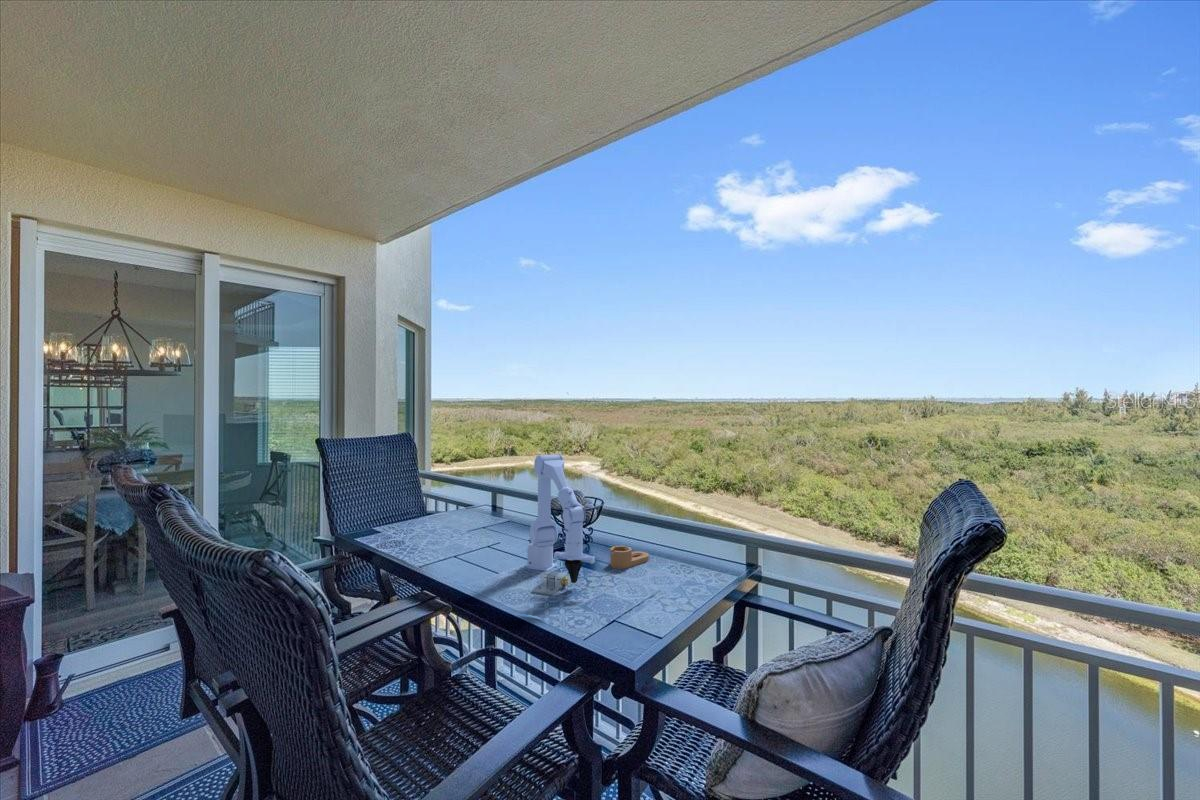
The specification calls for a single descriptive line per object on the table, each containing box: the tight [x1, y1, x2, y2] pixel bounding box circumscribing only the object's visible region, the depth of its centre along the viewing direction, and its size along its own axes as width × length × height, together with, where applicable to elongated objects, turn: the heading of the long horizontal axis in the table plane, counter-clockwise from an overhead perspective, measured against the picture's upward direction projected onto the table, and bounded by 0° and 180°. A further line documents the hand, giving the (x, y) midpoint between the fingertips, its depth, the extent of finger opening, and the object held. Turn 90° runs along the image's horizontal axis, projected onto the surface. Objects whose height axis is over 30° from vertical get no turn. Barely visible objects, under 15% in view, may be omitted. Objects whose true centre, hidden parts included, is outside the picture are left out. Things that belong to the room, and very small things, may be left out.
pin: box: [562, 578, 570, 587], centre depth 165 cm, size 9×2×2 cm, turn 69°
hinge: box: [531, 570, 571, 597], centre depth 165 cm, size 8×16×4 cm, turn 159°
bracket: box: [609, 545, 650, 570], centre depth 188 cm, size 18×8×7 cm, turn 131°
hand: (574, 581), depth 162 cm, fingers closed
